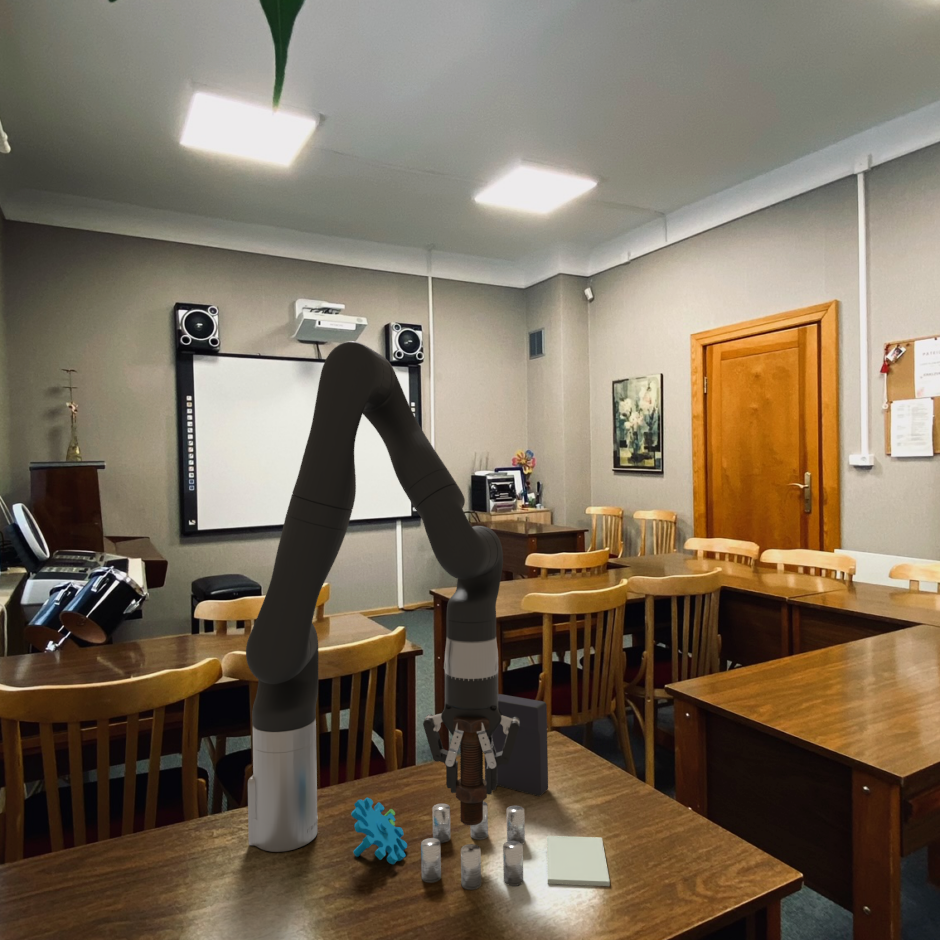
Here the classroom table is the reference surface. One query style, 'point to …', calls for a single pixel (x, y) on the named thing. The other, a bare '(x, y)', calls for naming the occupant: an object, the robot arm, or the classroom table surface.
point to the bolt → (471, 770)
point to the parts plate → (576, 861)
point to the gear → (378, 831)
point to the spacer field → (474, 848)
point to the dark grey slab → (524, 746)
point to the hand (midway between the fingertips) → (471, 790)
